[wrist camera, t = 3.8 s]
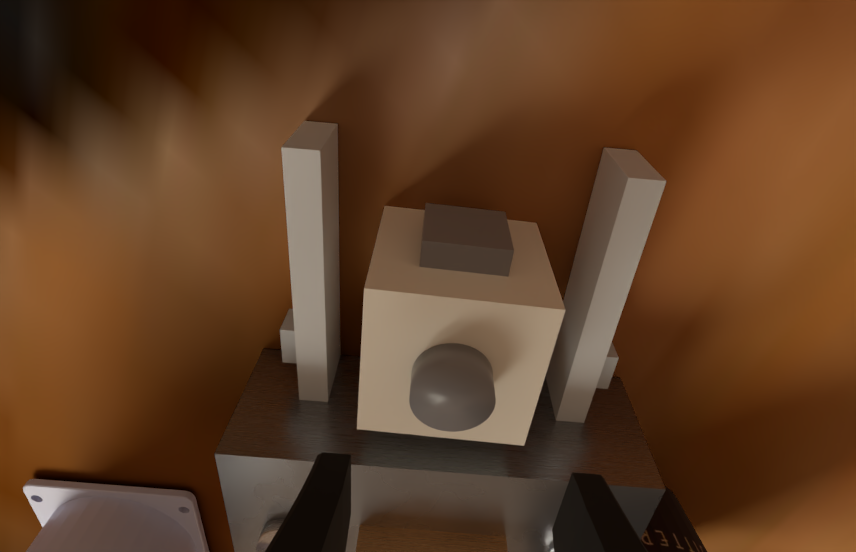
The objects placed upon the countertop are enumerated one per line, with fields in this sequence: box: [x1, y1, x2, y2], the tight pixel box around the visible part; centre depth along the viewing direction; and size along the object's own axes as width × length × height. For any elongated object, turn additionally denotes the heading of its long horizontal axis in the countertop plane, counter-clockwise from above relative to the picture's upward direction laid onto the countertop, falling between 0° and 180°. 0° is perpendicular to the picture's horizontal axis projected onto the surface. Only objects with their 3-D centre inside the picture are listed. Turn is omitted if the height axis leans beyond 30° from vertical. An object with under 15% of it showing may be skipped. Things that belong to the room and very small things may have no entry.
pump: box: [357, 203, 565, 446], centre depth 16 cm, size 6×5×6 cm
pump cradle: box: [280, 121, 666, 423], centre depth 17 cm, size 9×11×2 cm
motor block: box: [214, 349, 666, 552], centre depth 19 cm, size 6×14×6 cm, turn 86°
